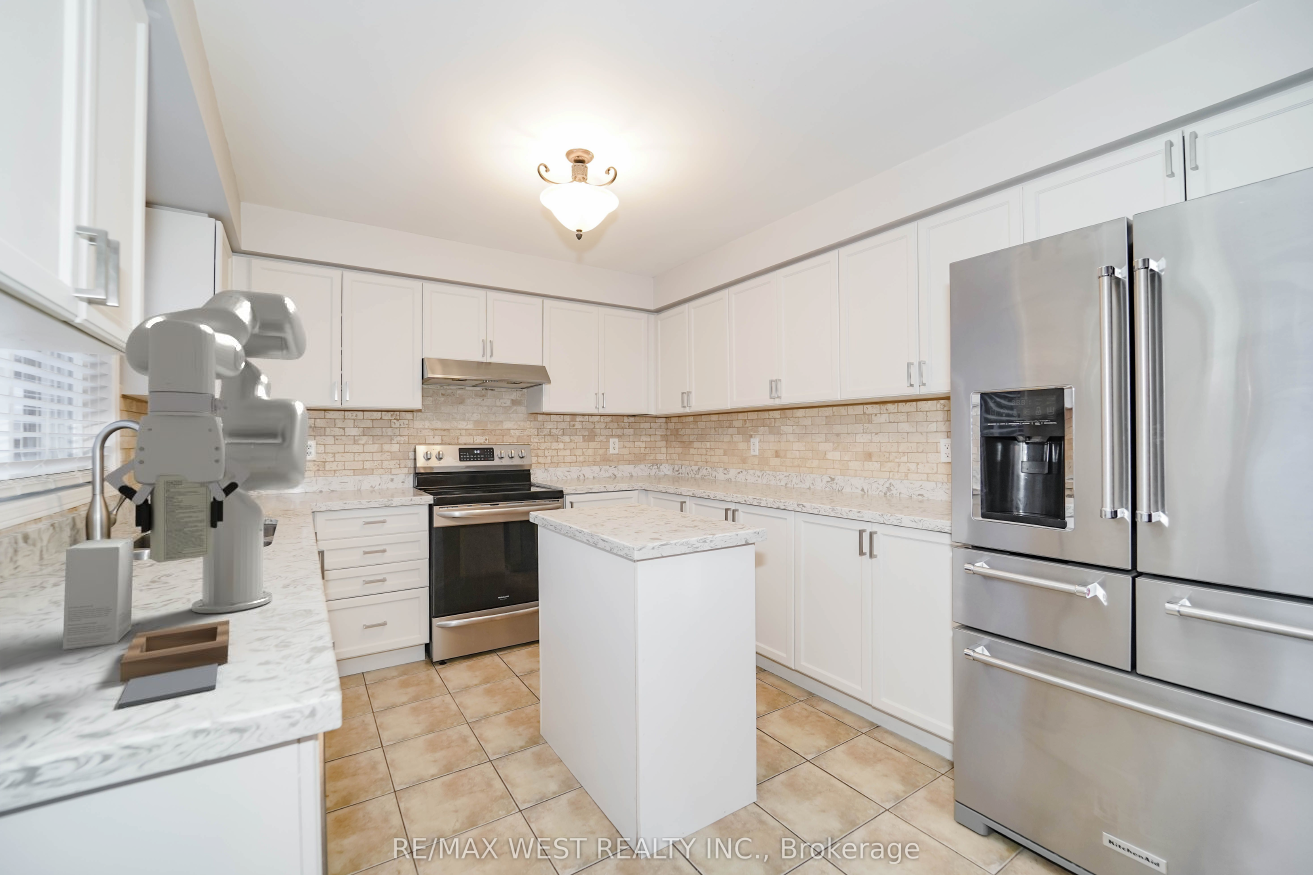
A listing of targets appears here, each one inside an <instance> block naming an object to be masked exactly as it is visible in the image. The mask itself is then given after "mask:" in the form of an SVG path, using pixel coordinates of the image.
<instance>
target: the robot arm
mask: <svg viewBox="0 0 1313 875" xmlns="http://www.w3.org/2000/svg"><path fill="white" fill-rule="evenodd" d="M124 348H125V357H126V361H127V363H128V365H129V366H130V368H132V370H133V371H134V372H136V373H137V374H139V375H140V376H141V375H142V376H146V377H148V380H147V381H148V384H147V387H148V388H147V389H148V390H147V392H148V393H147V415H146V414H145V415H141V418H140V421H139V424H138V430H137V434H136V441H135V449H134V457H133V458H132V459H131V460H129V461H127V462H126V463H124V464H122V465H121V466H119V467H117V468H116V469H114V470H112V472H110V473H108V474H106V475H105V476H104V480H105V482H107V484H109V485H111V487H112V488H114V489H115V490H116V491H117V492H118V493H119V494H121V495H122V496H123V497H124V498H126V499H127V500H129V501H130V502H132V504H134V506H135V513H134V514H135V518H134V521H135V522H134V526H135V528H139V527H140V534H147V533H148V532H150V501H149V499H150V492H151V490H152V489H153V487H154V485H155V484H156V477H158V476H185V477H186V478H187V480H188V481H189V482H191V483H198V484H206V485H207V486H208V488H209V489H210V491H211V556H204V557H202V580H201V581H202V582H201V583H202V589H201V590H202V591H201V593H202V594H201V596H202V598H201V599H199V600H196V601H194V602H192V604H191V611H192V612H194V613H198V614H220V613H221V614H222V613H229V612H230V613H231V612H238V611H242V610H243V611H244V610H248V609H253V608H257V607H260V606H263V605H265V604H268V603H270V602H271V601H272V600H273V593H271V592H270V591H266V590H264V539H265V538H264V537H265V536H264V533H265V532H264V526H265V525H264V522H265V521H264V520H265V519H264V518H265V517H264V512H263V509H262V507H261V506H260V505H259V503H258V502H257V501H256V500H255V499H254V498H253V497H252V496H251V495H250V494H249V493H250V492H255V491H257V492H258V491H280V490H283V491H284V490H292V489H296V488H298V487H300V486H301V485H302V483H303V482H304V479H305V475H306V469H307V458H308V456H307V455H308V444H309V443H308V442H309V430H310V428H309V426H310V425H309V424H310V423H309V420H310V419H309V414H308V413H309V412H308V410H307V408H306V406H305V404H304V403H303V402H301V401H299V400H297V399H292V398H278V397H277V398H276V397H272V398H271V390H272V384H271V380H270V379H269V378H268V376H266V374H265V373H264V372H263V371H262V370H261V369H259V368H258V367H257V365H255V364H254V363H252V362H251V361H249V359H264V360H265V359H266V360H281V361H294V360H299V359H300V358H302V357H303V356H304V354H305V352H306V349H307V335H306V332H305V328H304V326H303V323H302V319H301V315H300V313H299V311H298V309H297V307H296V304H294V302H293V301H292V300H291V299H290V298H289V297H287V296H285V295H283V294H279V293H274V292H273V293H272V292H261V291H250V290H242V289H241V290H238V289H228V290H223V291H219V292H217V293H215V294H214V295H213V296H211V298H210V299H209V300H207V301H206V302H205V303H204V304H203V305H202V306H201V307H194V308H188V309H184V310H178V311H173V312H171V311H170V312H165V313H160V314H157V315H152V316H150V317H148V318H146V319H144V320H143V321H141V322H140V323H139V324H138V325H137V326H136V327H134V328H133V329H132V331H131V332H130V334H129V336H128V337H127V340H126V343H125V347H124ZM217 380H219V381H220V380H221V381H220V382H221V385H220V394H219V399H218V398H217V397H216V381H217ZM131 472H133V478H134V481H135V482H136V483H137V484H140V485H141V486H140V488H138V491H137V490H136V489H135V488H133V487H132V486H131V485H129V484H128V483H127V482H126V481H125V480H124V477H125V476H126V475H127V476H128V475H129V474H130V473H131ZM248 492H249V493H248Z"/></svg>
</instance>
